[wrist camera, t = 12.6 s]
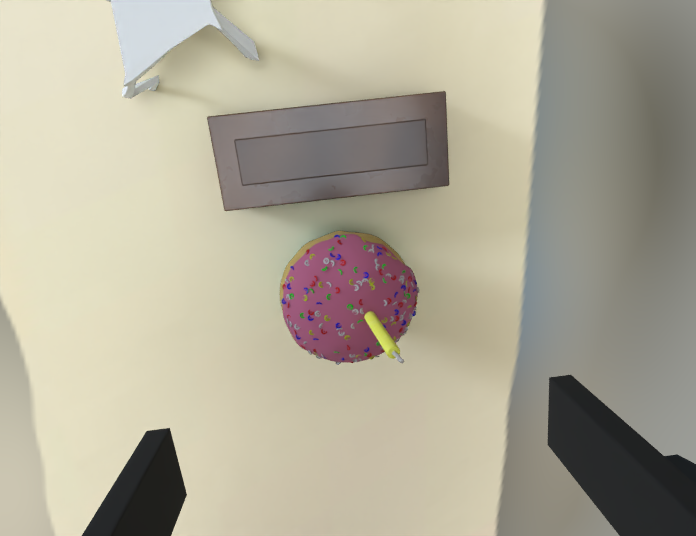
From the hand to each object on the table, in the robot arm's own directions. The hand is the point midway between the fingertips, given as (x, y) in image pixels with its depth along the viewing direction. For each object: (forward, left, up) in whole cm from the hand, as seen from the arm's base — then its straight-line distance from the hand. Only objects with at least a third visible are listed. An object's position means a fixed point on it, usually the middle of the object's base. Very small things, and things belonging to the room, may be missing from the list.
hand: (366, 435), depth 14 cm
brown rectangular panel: (+9, 0, -17) cm, 19 cm away
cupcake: (0, 0, -17) cm, 17 cm away
